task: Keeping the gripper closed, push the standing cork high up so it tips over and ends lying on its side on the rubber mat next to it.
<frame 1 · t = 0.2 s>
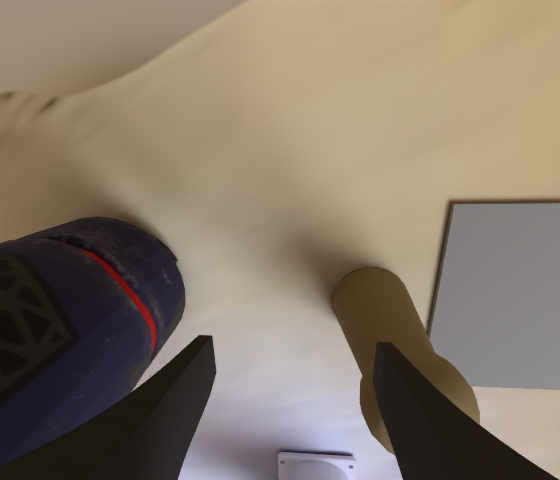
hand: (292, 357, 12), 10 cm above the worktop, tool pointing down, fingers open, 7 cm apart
grenade: (125, 288, 23), on the worktop
mat: (513, 303, 21), on the worktop
cork: (368, 299, 22), on the worktop
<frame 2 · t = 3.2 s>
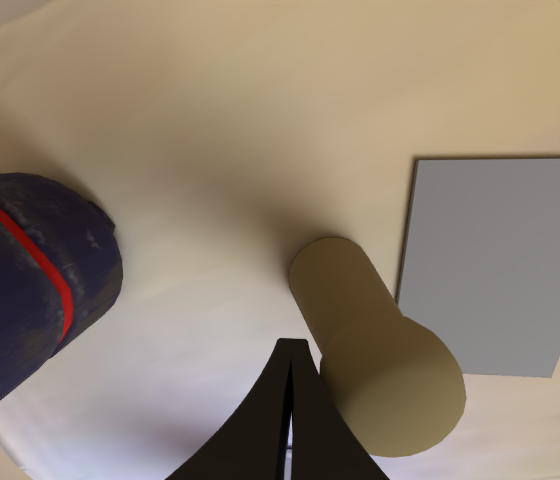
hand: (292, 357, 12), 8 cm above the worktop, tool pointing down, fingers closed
grenade: (61, 260, 21), on the worktop
mat: (488, 278, 19), on the worktop
cork: (329, 276, 19), on the worktop
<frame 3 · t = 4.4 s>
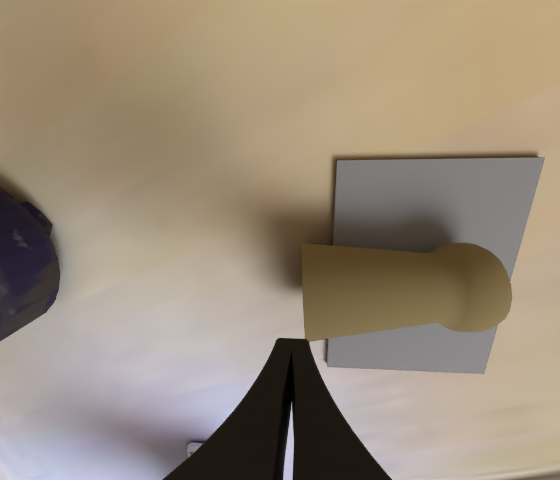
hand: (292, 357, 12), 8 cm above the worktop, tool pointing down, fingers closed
grenade: (4, 259, 21), on the worktop
mat: (416, 276, 19), on the worktop
cork: (300, 290, 17), point 3 cm above the worktop, touching mat
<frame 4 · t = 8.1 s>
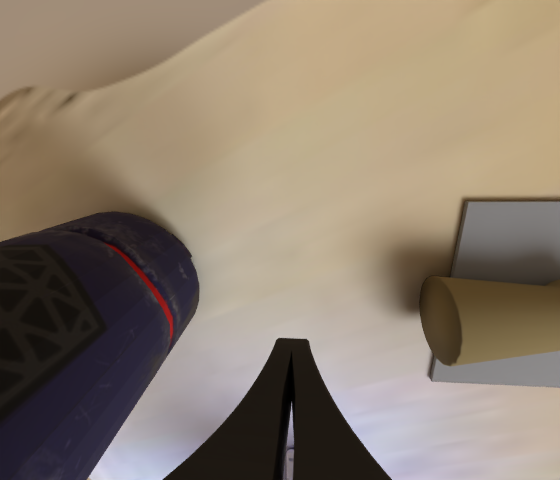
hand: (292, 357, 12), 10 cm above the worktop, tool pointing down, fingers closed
grenade: (138, 284, 24), on the worktop
mat: (525, 301, 21), on the worktop
cork: (434, 319, 19), point 3 cm above the worktop, touching mat
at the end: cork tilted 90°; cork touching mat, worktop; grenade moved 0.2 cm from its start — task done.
